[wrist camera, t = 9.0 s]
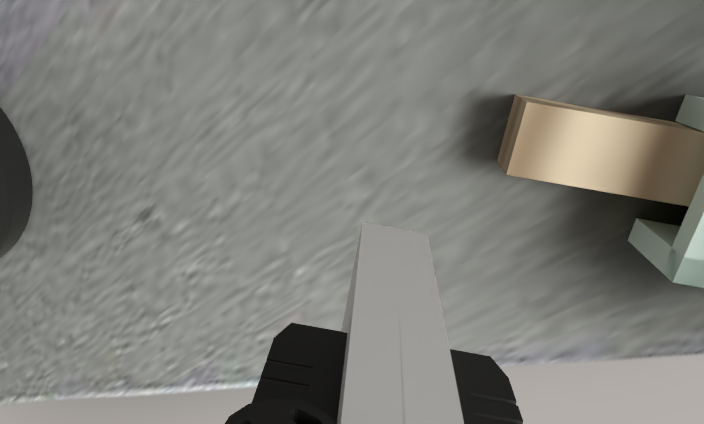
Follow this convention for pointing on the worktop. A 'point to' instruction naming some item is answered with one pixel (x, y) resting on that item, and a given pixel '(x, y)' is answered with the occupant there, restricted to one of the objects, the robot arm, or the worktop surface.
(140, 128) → the worktop surface
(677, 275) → the end cap
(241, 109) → the worktop surface
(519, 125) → the slat
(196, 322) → the worktop surface
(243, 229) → the worktop surface
